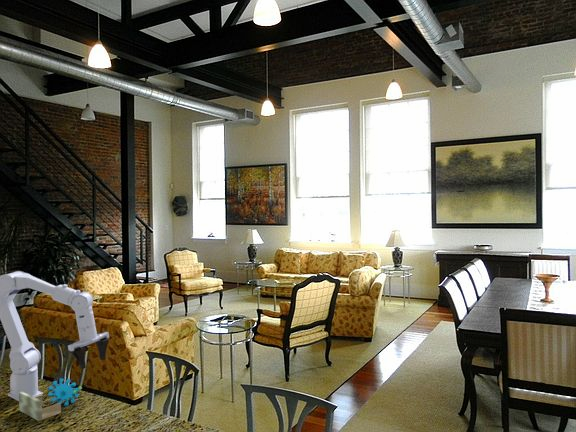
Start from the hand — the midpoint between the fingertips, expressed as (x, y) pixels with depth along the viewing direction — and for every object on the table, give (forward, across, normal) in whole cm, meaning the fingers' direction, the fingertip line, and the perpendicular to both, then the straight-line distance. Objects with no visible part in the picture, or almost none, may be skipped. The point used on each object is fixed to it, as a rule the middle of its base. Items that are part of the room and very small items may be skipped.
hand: (93, 363), depth 163 cm
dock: (+9, -19, +2) cm, 21 cm away
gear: (+10, -11, +2) cm, 15 cm away
